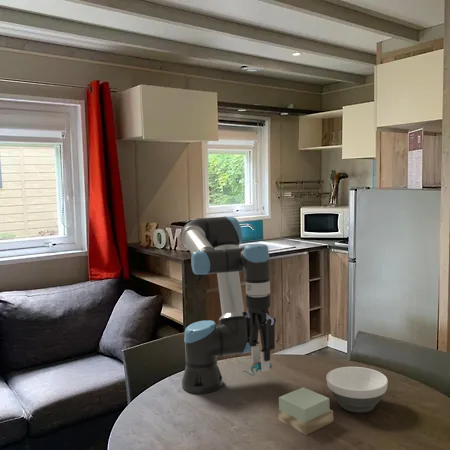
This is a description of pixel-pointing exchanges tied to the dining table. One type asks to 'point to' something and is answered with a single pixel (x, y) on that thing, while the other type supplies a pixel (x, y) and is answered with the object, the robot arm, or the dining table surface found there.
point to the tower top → (304, 404)
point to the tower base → (306, 426)
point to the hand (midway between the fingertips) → (260, 368)
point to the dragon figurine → (257, 367)
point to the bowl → (357, 387)
